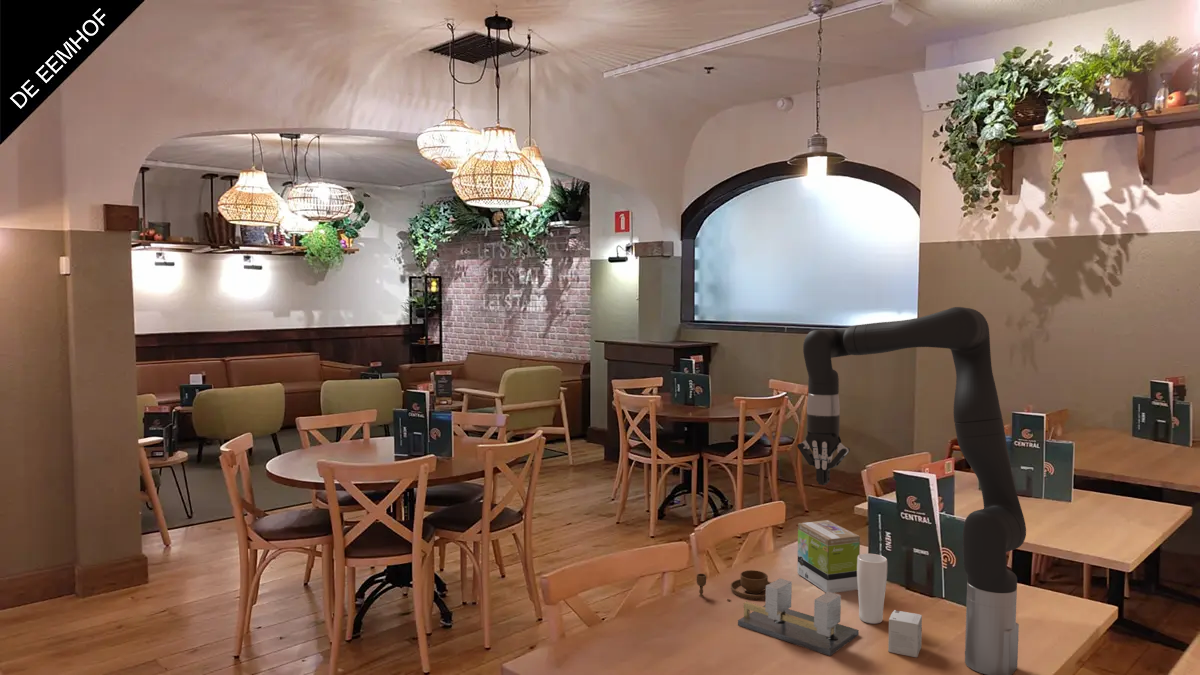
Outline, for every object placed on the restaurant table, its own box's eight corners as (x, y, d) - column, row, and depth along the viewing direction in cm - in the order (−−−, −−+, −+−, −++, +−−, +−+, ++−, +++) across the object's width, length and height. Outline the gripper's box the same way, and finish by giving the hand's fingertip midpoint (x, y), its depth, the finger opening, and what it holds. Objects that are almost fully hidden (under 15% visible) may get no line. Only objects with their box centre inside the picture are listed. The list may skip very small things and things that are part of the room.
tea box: (795, 574, 218) (796, 521, 217) (827, 571, 221) (828, 518, 220) (827, 594, 204) (828, 538, 203) (860, 590, 207) (861, 534, 206)
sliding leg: (791, 621, 183) (791, 581, 182) (776, 630, 178) (777, 589, 177) (779, 618, 185) (780, 578, 184) (765, 626, 180) (765, 585, 179)
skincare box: (917, 658, 168) (918, 624, 168) (887, 652, 171) (888, 618, 171) (921, 647, 173) (922, 614, 173) (892, 641, 176) (893, 609, 176)
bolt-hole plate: (858, 635, 179) (858, 629, 179) (830, 655, 169) (830, 650, 169) (768, 607, 195) (769, 602, 195) (737, 625, 184) (737, 620, 184)
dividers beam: (839, 639, 174) (840, 595, 174) (826, 648, 170) (827, 603, 169) (753, 611, 189) (753, 571, 189) (738, 619, 185) (739, 578, 184)
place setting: (775, 609, 195) (775, 585, 195) (694, 600, 201) (694, 577, 201) (779, 583, 212) (779, 562, 212) (704, 576, 218) (704, 555, 217)
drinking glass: (887, 627, 184) (889, 563, 183) (857, 624, 185) (858, 561, 184) (883, 615, 190) (885, 554, 189) (854, 613, 192) (855, 552, 191)
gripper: (856, 413, 188) (856, 485, 189) (804, 408, 197) (804, 477, 198) (843, 416, 183) (842, 491, 183) (790, 411, 191) (790, 483, 192)
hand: (822, 484), depth 190 cm, fingers closed
